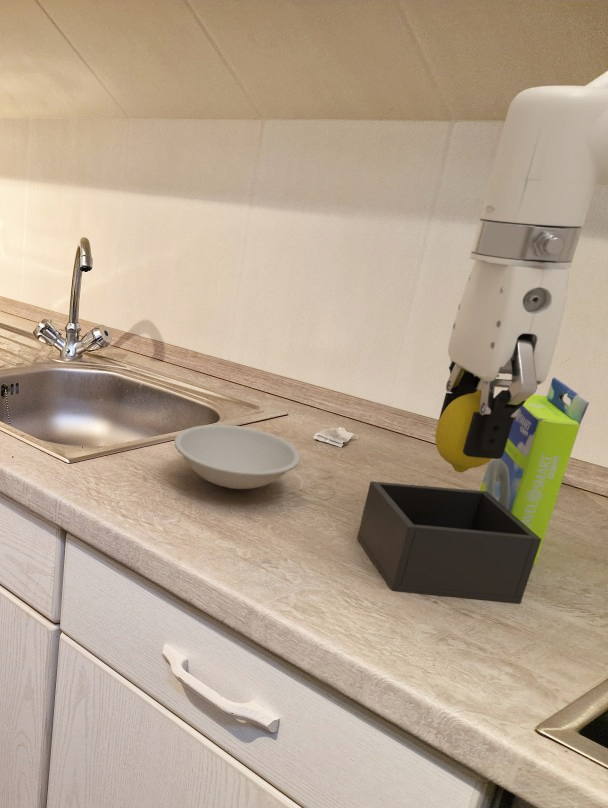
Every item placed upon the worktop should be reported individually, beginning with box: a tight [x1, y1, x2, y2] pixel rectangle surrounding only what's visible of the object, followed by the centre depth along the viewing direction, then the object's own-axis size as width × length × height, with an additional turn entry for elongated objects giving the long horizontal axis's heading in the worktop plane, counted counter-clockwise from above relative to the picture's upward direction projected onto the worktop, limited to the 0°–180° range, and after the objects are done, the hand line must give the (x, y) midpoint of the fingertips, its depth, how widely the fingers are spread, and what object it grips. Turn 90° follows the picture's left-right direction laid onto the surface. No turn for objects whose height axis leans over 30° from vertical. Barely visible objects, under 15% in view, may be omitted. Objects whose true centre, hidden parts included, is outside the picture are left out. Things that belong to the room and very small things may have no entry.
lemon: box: [434, 390, 492, 473], centre depth 79 cm, size 6×6×8 cm
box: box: [479, 377, 590, 566], centre depth 87 cm, size 10×4×17 cm, turn 164°
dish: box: [174, 424, 302, 490], centre depth 102 cm, size 18×14×5 cm
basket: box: [356, 481, 541, 604], centre depth 83 cm, size 11×11×7 cm
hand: (467, 443), depth 79 cm, fingers closed on lemon, 5 cm apart
